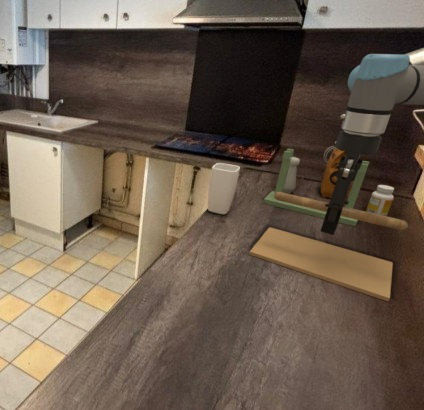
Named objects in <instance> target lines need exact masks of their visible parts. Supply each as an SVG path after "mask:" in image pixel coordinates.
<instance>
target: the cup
mask: <svg viewBox="0 0 424 410" xmlns="http://www.w3.org/2000/svg"><path fill="white" fill-rule="evenodd" d="M240 170H241V166H239V165H235V164H229V163H224V162H216V163H215V164H213V166H211V172H210V178H209V184H208V194H207V195H208V196H207V210H208V212H210V213H213V214H217V215H220V216H224V215H226V214H228V212H229V211H230V209H231V206H232V202H233V201H234V196H235V193H236V188H237V185H238V180H239V176H240Z"/></svg>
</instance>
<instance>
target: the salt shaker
mask: <svg viewBox="0 0 424 410" xmlns="http://www.w3.org/2000/svg"><path fill="white" fill-rule="evenodd" d="M290 158H291V162H290V166H289V170H288V174H287V178H286V181H285V185H284V189H283V193H287V194H291V193H292V192H293V191H294V190H295V189H296V185H297V172H298V171H297V169H298V166H299V165H300V163H301V159H300V158H299V157H296V156H292V157H290Z"/></svg>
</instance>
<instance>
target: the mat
mask: <svg viewBox="0 0 424 410" xmlns="http://www.w3.org/2000/svg"><path fill="white" fill-rule="evenodd" d="M248 255H249V256H252V257H254V258H258V259H261V260H264V261H266V262H270V263H272V264H276V265H278V266H282V267H285V268H288V269H290V270H294V271H297V272H299V273H302V274H305V275H308V276H311V277H314V278H317V279H320V280H323V281H325V282H329V283H332V284H335V285H337V286H341V287H343V288H346V289H349V290H352V291H354V292H355V291H356V292H358V293H361V294H364V295H367V296H370V297H373V298H376V299H379V300H382V301H385V302H387V303H388V302H390V299H391V289H392V279H393V278H392V277H393V267H394V266H393V265H394V263H393V261H389V260H386V259H382V258H378V257H376V256H372V255H368V254H365V253H361V252H358V251H354V250H350V249H348V248H343V247H340V246H336V245H333V244H330V243H327V242H324V241H320V240H315V239H313V238H309V237H305V236H302V235H299V234H295V233H291V232H288V231H285V230H282V229H278V228H274V227H271V226H269V227H268V228H267V230H265V231H264V233H263V234H262V236H261V237H260V238H259V239H258V241H257V242H256V243H255V244H254V245H253V247H252V248H251V249H250V251H249V253H248Z"/></svg>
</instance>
